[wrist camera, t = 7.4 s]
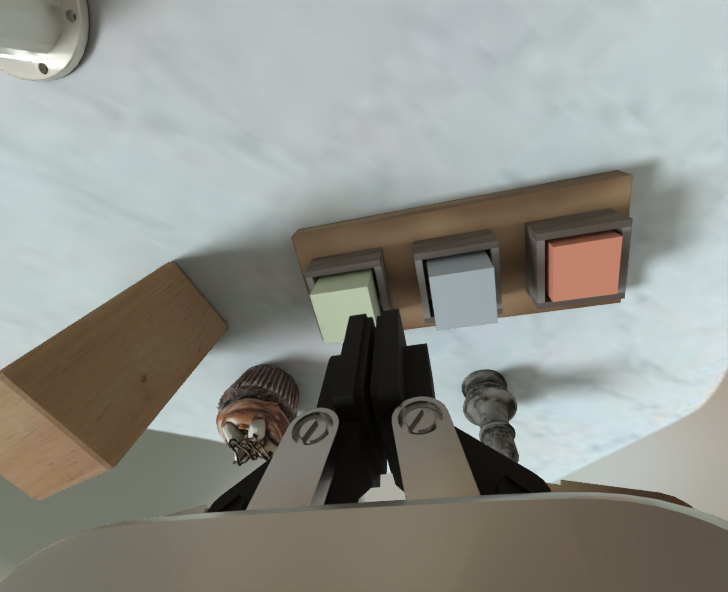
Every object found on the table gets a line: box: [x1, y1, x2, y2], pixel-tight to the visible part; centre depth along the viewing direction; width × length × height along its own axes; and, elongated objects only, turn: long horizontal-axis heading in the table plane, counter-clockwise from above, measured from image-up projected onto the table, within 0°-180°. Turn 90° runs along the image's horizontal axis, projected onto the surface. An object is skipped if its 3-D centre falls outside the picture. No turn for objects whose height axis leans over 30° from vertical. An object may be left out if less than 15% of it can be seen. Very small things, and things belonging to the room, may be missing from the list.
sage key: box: [310, 268, 382, 344], centre depth 34 cm, size 5×5×4 cm
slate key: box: [426, 250, 498, 330], centre depth 32 cm, size 5×5×4 cm
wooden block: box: [0, 262, 228, 500], centre depth 36 cm, size 10×10×20 cm
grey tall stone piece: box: [462, 370, 519, 463], centre depth 40 cm, size 6×6×12 cm
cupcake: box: [216, 365, 299, 466], centre depth 44 cm, size 10×10×10 cm
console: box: [291, 170, 632, 339], centre depth 35 cm, size 12×30×6 cm, turn 102°
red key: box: [545, 230, 622, 302], centre depth 32 cm, size 5×5×4 cm
